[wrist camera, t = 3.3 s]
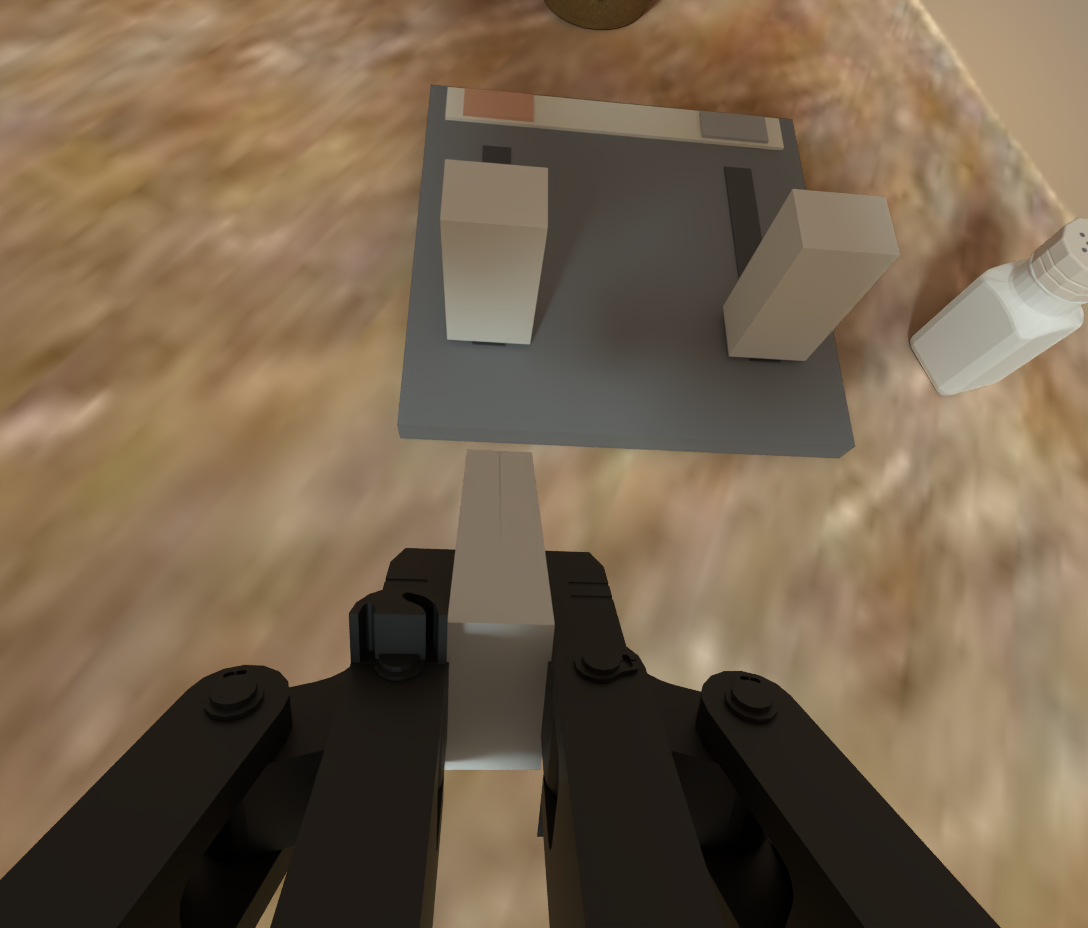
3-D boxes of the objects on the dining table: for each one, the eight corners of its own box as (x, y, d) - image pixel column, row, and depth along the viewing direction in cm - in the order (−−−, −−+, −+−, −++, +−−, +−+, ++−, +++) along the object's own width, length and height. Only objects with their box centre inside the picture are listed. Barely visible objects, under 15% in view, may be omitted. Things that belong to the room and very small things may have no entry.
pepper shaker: (937, 402, 35) (1090, 293, 27) (900, 340, 37) (1036, 218, 28) (996, 386, 36) (1164, 275, 27) (959, 326, 38) (1108, 202, 29)
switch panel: (839, 458, 33) (859, 442, 32) (400, 438, 31) (396, 420, 30) (781, 139, 42) (795, 113, 40) (432, 107, 40) (430, 78, 38)
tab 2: (805, 361, 33) (900, 255, 26) (728, 356, 33) (803, 247, 26) (796, 311, 34) (885, 196, 27) (722, 306, 34) (792, 188, 27)
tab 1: (530, 344, 32) (547, 228, 25) (447, 339, 32) (440, 219, 24) (530, 293, 33) (547, 168, 26) (450, 288, 33) (445, 159, 25)
